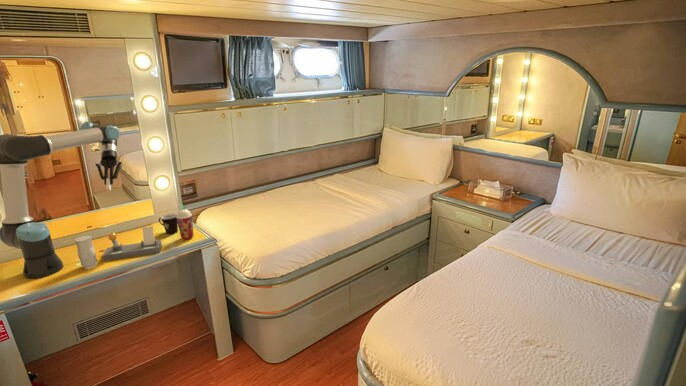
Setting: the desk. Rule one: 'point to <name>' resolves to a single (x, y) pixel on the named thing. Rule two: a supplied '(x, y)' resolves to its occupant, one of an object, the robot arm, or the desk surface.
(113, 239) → the steel toggle
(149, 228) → the white flat upright panel
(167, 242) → the desk surface
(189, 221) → the smoothie
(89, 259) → the candle
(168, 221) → the coffee mug
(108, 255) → the switch console
